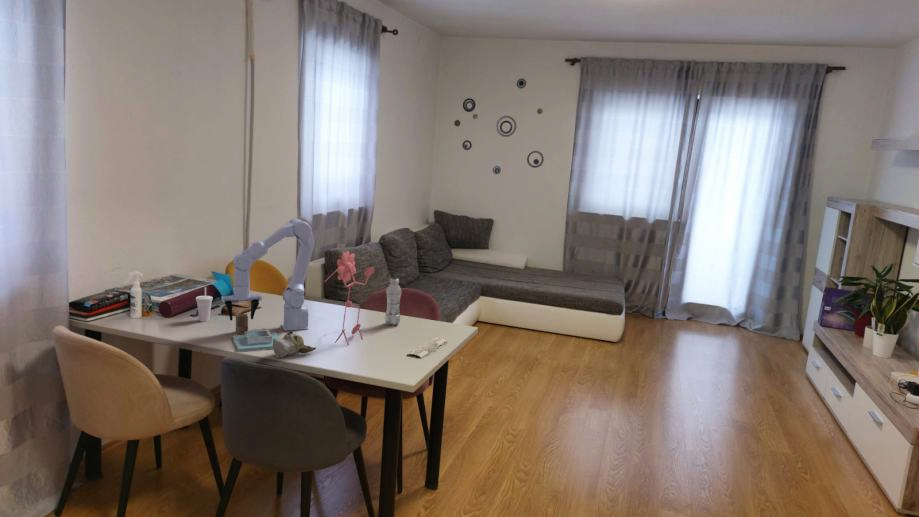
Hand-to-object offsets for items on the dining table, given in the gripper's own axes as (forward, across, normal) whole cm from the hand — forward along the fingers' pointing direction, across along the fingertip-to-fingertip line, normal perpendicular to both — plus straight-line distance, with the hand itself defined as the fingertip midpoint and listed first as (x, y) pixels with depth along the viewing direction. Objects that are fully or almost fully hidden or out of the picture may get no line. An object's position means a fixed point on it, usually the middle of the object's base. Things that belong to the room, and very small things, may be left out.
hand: (241, 319), depth 243 cm
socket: (+5, -4, +14) cm, 16 cm away
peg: (+6, 0, 0) cm, 6 cm away
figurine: (+6, -35, +17) cm, 39 cm away
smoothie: (+6, +12, -20) cm, 24 cm away
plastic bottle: (+5, -61, +3) cm, 61 cm away
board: (+5, -4, +14) cm, 16 cm away
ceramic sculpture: (+6, -13, +29) cm, 32 cm away
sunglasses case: (+6, -4, -32) cm, 33 cm away
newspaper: (+6, -64, +36) cm, 74 cm away
